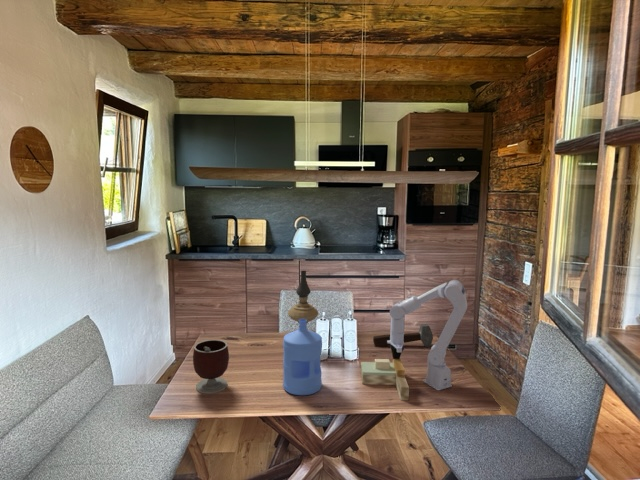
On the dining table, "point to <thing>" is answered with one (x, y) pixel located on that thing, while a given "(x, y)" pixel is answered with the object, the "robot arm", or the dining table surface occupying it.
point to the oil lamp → (303, 303)
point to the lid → (378, 368)
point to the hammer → (408, 337)
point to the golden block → (398, 367)
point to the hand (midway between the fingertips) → (395, 361)
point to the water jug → (302, 361)
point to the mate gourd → (211, 365)
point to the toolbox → (389, 383)
